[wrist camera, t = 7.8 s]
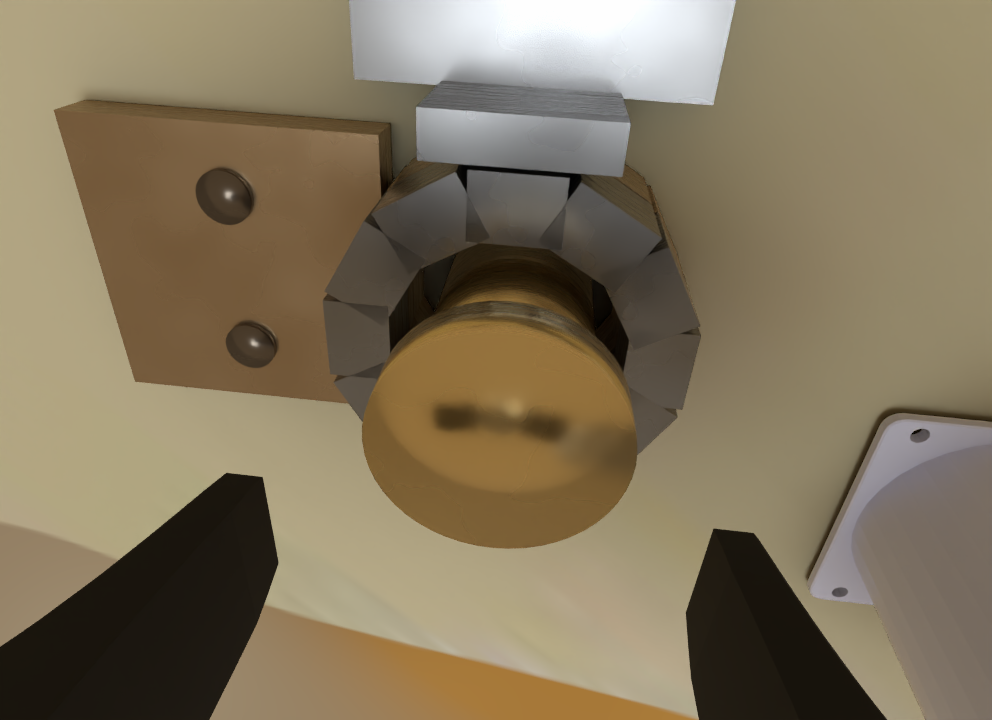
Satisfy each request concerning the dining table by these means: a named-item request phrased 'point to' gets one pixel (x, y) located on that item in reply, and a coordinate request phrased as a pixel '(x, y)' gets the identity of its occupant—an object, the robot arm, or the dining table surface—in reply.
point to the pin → (504, 406)
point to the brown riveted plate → (235, 236)
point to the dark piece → (529, 168)
